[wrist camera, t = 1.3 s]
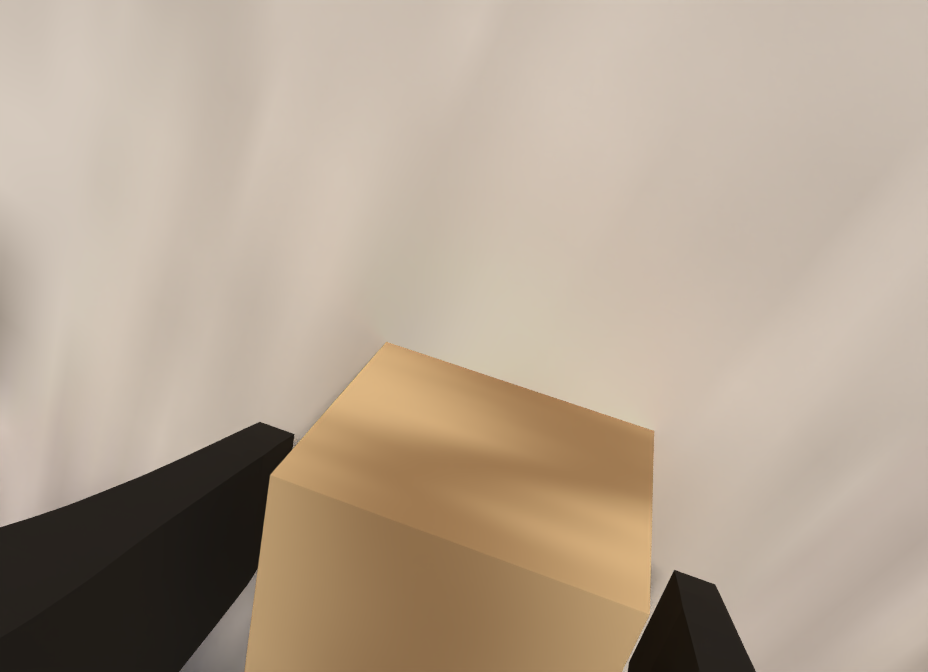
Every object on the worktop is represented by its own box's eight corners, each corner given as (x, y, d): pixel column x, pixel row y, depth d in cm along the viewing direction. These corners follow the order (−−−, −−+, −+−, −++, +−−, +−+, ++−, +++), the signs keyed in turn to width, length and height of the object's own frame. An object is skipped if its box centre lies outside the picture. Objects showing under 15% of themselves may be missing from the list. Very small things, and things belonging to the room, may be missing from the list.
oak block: (653, 428, 11) (649, 614, 8) (571, 624, 13) (537, 845, 10) (388, 339, 12) (269, 474, 8) (347, 540, 14) (238, 719, 10)
